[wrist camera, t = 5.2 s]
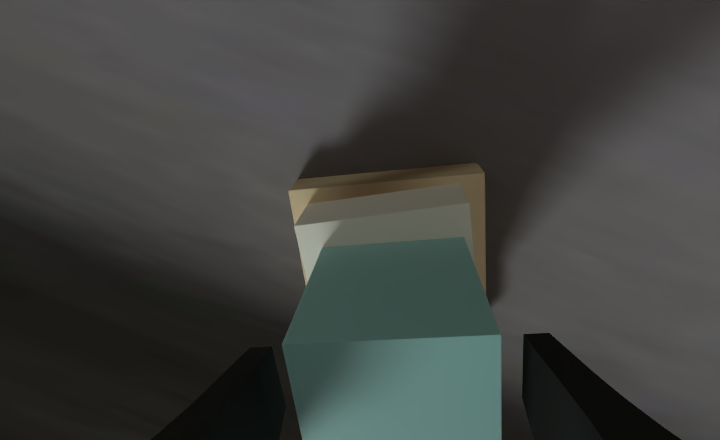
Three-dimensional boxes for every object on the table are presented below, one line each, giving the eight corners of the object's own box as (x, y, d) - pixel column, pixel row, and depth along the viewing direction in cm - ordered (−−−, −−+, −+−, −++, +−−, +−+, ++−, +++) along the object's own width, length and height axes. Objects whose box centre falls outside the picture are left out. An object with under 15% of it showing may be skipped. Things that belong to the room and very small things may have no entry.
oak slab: (473, 158, 16) (484, 173, 14) (476, 309, 19) (486, 340, 17) (301, 175, 17) (288, 190, 15) (325, 317, 20) (317, 347, 18)
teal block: (463, 237, 13) (500, 334, 8) (468, 356, 14) (501, 494, 10) (321, 247, 13) (282, 344, 9) (340, 361, 15) (314, 495, 10)
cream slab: (459, 182, 15) (469, 202, 13) (471, 315, 16) (482, 352, 14) (307, 203, 15) (294, 226, 13) (335, 328, 17) (327, 365, 15)
